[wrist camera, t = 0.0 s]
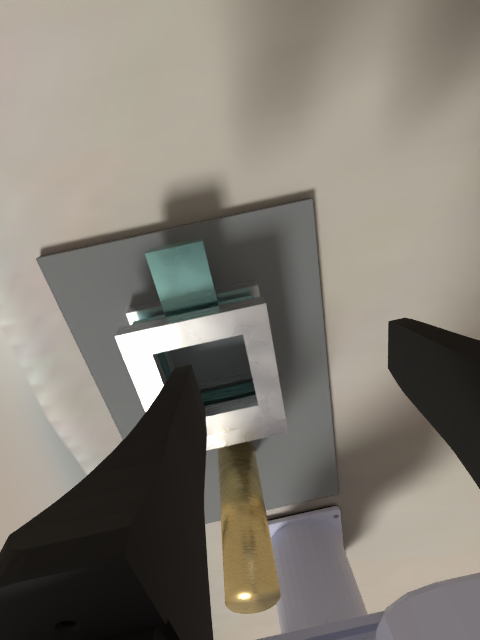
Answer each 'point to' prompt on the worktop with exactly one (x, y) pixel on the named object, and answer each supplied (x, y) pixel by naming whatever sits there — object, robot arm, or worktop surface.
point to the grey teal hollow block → (200, 327)
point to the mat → (224, 354)
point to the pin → (245, 533)
